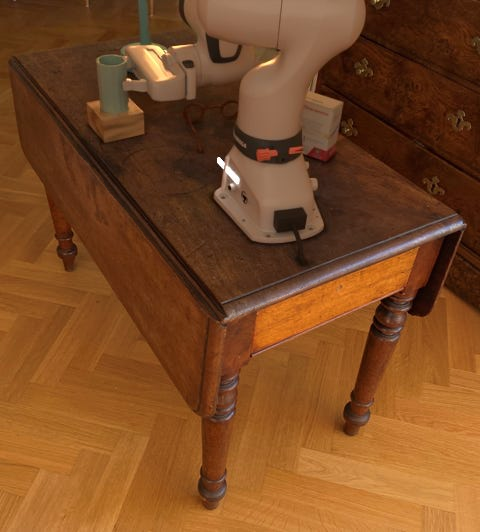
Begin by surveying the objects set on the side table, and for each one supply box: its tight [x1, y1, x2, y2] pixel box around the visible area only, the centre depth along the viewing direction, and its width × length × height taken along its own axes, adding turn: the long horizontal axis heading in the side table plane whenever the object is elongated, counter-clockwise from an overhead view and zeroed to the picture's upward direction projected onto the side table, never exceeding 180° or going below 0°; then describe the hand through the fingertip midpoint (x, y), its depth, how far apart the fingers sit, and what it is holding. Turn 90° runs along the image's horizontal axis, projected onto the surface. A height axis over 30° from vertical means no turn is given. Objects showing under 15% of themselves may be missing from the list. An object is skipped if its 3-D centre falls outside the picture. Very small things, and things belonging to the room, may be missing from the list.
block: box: [85, 98, 145, 144], centre depth 128 cm, size 9×9×5 cm
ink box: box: [301, 90, 344, 162], centre depth 124 cm, size 9×5×12 cm, turn 57°
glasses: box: [182, 99, 239, 153], centre depth 129 cm, size 13×13×5 cm
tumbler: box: [95, 53, 130, 113], centre depth 123 cm, size 6×6×10 cm
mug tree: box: [119, 0, 168, 74], centre depth 147 cm, size 12×12×25 cm
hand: (115, 75), depth 122 cm, fingers open, 8 cm apart
